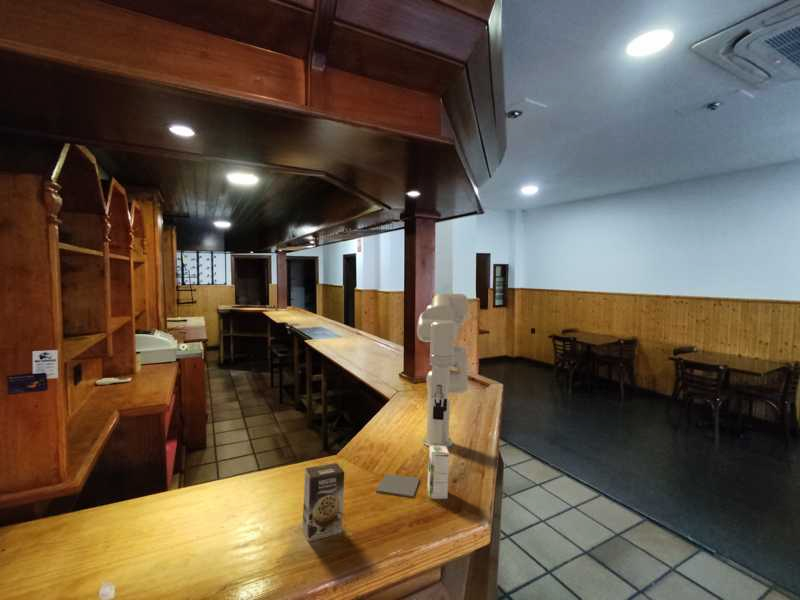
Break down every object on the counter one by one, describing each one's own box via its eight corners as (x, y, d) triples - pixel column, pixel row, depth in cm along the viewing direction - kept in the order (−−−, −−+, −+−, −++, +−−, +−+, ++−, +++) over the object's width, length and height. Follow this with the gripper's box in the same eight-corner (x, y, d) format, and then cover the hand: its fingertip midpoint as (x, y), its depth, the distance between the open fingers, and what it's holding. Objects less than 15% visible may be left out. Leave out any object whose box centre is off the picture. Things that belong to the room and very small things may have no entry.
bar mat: (385, 475, 131) (385, 473, 131) (419, 479, 128) (419, 478, 128) (376, 492, 119) (376, 490, 119) (413, 497, 117) (413, 495, 117)
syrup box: (426, 490, 122) (428, 445, 122) (444, 489, 122) (446, 445, 122) (429, 499, 116) (431, 452, 116) (448, 499, 116) (450, 452, 117)
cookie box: (307, 542, 94) (310, 478, 94) (301, 528, 99) (304, 467, 99) (343, 533, 98) (345, 471, 98) (335, 520, 103) (337, 461, 103)
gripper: (433, 356, 128) (431, 406, 128) (425, 363, 111) (424, 421, 111) (455, 357, 127) (453, 408, 126) (451, 365, 110) (449, 424, 110)
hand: (439, 414), depth 119 cm, fingers open, 9 cm apart
